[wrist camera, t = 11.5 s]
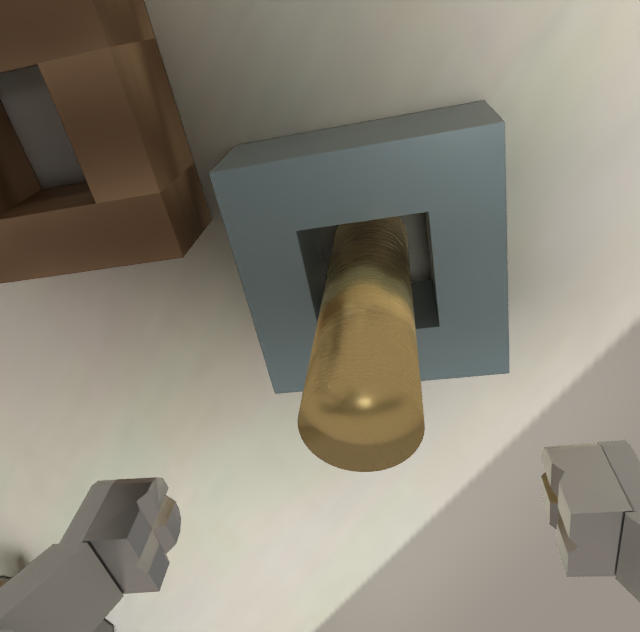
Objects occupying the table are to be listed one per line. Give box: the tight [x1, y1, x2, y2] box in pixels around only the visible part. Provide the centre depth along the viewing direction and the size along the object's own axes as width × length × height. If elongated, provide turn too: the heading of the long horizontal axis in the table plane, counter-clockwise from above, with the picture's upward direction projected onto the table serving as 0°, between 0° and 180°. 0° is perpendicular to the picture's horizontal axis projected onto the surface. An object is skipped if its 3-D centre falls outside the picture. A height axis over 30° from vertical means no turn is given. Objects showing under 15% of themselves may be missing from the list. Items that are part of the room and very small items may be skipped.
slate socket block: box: [209, 100, 509, 394], centre depth 22 cm, size 10×10×4 cm
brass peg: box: [298, 216, 425, 472], centre depth 19 cm, size 3×3×12 cm
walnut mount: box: [0, 0, 212, 283], centre depth 21 cm, size 10×10×4 cm
